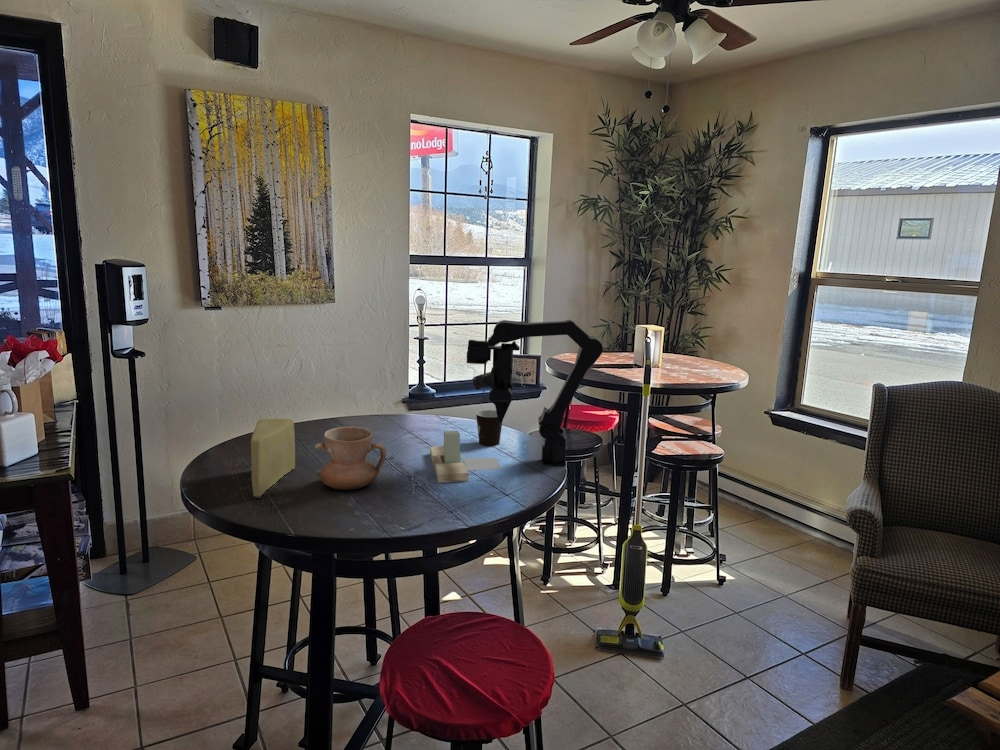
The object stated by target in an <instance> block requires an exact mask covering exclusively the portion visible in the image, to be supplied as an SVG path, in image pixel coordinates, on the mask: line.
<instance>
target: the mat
mask: <svg viewBox="0 0 1000 750" xmlns="http://www.w3.org/2000/svg"><path fill="white" fill-rule="evenodd" d="M462 461H463V462H464V464H465V466H466V469H467V471H468V472H469V471H486V470H489V471H490V470H493V471H495V470H503V468H502V466H501V464H500V462H499V460H498V458H497V457H477V458H476V457H474V458H473V457H472V458H470V457H469V458H462Z"/></svg>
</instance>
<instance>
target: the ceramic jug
mask: <svg viewBox="0 0 1000 750" xmlns="http://www.w3.org/2000/svg"><path fill="white" fill-rule="evenodd" d="M323 438H324V442H318V443H317V444H315V445H314V449H315V450H323V451H325V452H327V453H328V454H329V455H330V458H331V460H330V461H328V463H326V464H325V465H324V466H323V467H322V468H321V469H319V470H318V471H317V475H318V477H319V478H320V480H321V482H322V483H323V484H324V485H325V486H326V487H329V488H331V489H335V490H340V491H342V490H343V491H346V490H347V491H348V490H349V491H350V490H356V489H360V488H364V487H367V486H368V485H370V484H372V483H373V482H374V481H375V480H376V478H377V477H378V475H380V470H381V467H382V466H383V464H384V462H385V460H386V456H387V451H386V448H385V446H384V444H382V443H378V442H376V443H375V442H374V443H372V439H373V431H372V430H370V429H369V428H366V427H362V426H360V427H359V426H353V425H350V426H342V427H341V426H339V427H336V428H331V429H328V430H326V431H325V433H324V434H323ZM376 449H378V450H379V451H380V458H379V461H378V462H377V465H376V466H375V465H374V464H373V463H372V462H370V461H369V460H367V459H366V457H367V455H368V453H370V452H371V451H372V450H376Z"/></svg>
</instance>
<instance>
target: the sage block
mask: <svg viewBox="0 0 1000 750" xmlns="http://www.w3.org/2000/svg"><path fill="white" fill-rule="evenodd" d="M460 444H461V434H460V432H459V430H444V431H443V446H444V463H461V453H460V452H461V451H460V450H461V445H460Z"/></svg>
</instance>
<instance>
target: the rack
mask: <svg viewBox="0 0 1000 750" xmlns="http://www.w3.org/2000/svg"><path fill="white" fill-rule="evenodd" d="M429 454H430V455H429V456H430V458H431V462H432V465H433V469H434V472H435V475H436V479H437V483H452V482H454V483H456V482H469V470H468V471H467V469H466V466H465V463H464V461H463V462H460V463H444V445H443V446H442V445H441V446H440V445H439V446H438V445H437V446H436V445H435V446H429Z"/></svg>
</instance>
